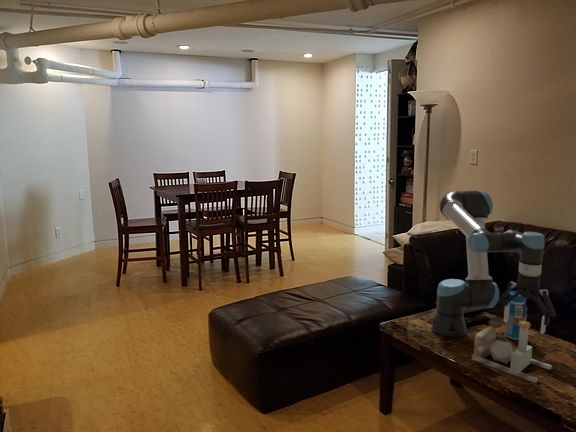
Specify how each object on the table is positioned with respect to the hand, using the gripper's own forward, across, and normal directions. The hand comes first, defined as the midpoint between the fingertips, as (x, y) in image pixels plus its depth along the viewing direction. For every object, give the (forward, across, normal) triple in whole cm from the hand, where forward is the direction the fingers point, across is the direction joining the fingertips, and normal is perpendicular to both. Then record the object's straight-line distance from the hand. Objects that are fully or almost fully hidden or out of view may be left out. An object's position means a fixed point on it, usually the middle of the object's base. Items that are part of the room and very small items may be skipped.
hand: (523, 326), depth 180 cm
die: (+17, -7, 0) cm, 18 cm away
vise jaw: (+16, 0, 0) cm, 16 cm away
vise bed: (+17, -3, 0) cm, 17 cm away
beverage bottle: (+17, -13, +27) cm, 34 cm away
